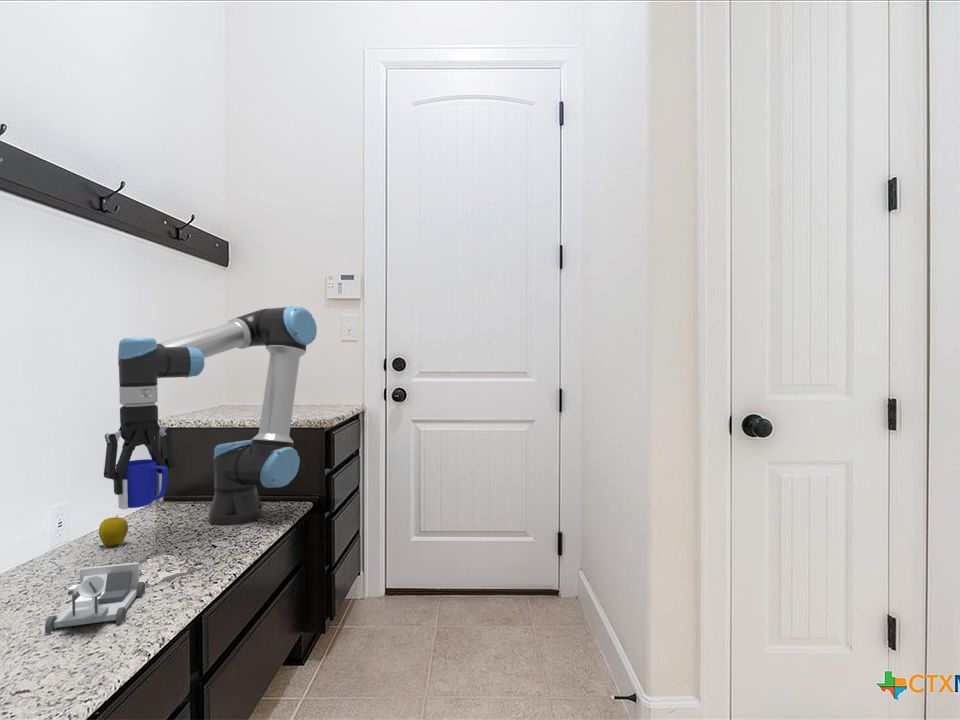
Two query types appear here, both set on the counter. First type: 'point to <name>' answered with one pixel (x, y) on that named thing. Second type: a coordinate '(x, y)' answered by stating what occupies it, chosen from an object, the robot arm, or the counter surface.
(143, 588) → the toy car
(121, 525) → the apple
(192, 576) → the counter surface
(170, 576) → the label panel
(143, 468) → the mug
